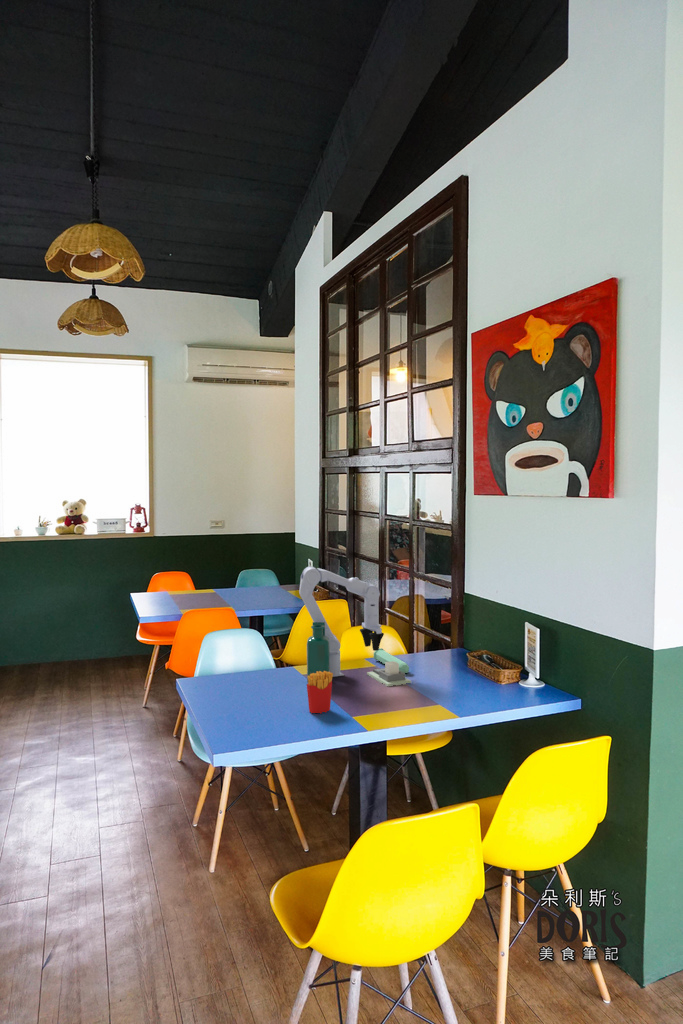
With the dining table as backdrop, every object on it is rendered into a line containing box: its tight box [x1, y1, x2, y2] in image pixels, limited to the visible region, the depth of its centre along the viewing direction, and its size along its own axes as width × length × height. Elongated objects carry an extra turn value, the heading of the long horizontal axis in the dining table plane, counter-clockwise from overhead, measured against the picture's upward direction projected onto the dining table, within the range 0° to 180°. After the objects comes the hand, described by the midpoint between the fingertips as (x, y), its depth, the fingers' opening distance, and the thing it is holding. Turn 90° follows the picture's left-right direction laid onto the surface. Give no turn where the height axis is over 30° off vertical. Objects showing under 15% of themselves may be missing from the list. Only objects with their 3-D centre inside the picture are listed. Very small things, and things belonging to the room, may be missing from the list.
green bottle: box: [306, 621, 330, 684], centre depth 263 cm, size 10×8×22 cm
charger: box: [384, 661, 399, 675], centre depth 264 cm, size 4×4×6 cm
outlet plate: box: [366, 667, 412, 687], centre depth 267 cm, size 10×18×3 cm, turn 23°
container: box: [373, 647, 410, 674], centre depth 284 cm, size 6×6×25 cm
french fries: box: [306, 671, 334, 714], centre depth 229 cm, size 9×4×13 cm, turn 122°
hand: (371, 648), depth 276 cm, fingers open, 7 cm apart
